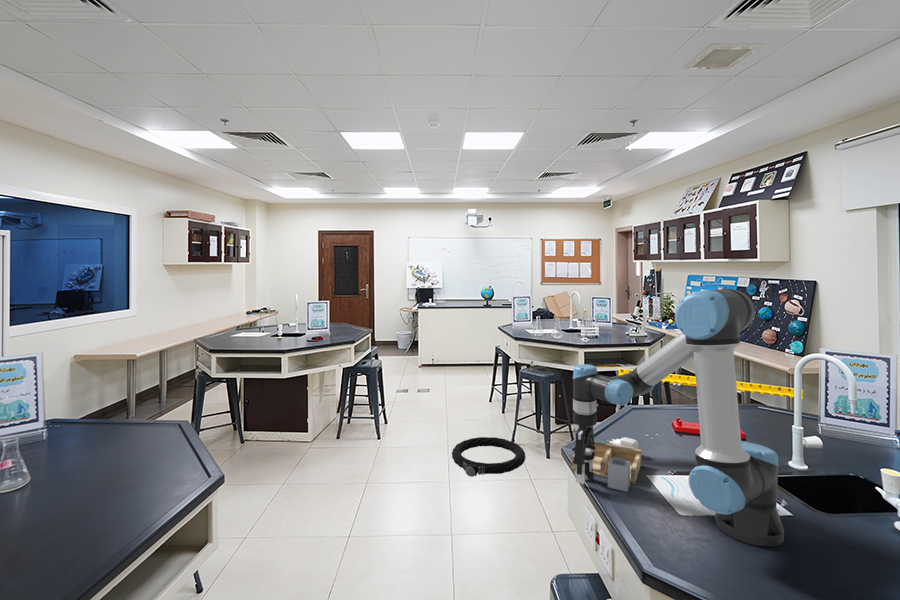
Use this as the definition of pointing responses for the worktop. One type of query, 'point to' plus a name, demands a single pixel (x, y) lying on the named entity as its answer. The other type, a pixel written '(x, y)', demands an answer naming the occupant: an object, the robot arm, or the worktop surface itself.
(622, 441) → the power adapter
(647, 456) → the worktop surface
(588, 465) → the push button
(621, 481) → the block
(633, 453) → the divided wooden rack
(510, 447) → the cable lock
